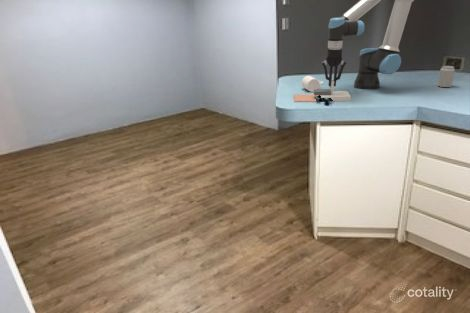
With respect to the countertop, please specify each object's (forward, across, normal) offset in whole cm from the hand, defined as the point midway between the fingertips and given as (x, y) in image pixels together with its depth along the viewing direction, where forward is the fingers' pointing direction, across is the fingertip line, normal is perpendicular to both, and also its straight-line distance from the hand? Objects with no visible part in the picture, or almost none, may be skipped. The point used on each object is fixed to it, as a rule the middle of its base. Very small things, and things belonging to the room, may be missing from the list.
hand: (331, 92), depth 206 cm
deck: (+4, +2, 0) cm, 4 cm away
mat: (+4, -14, 0) cm, 14 cm away
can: (+3, +69, +24) cm, 74 cm away
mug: (+4, -8, +20) cm, 22 cm away
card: (+1, -5, 0) cm, 5 cm away
